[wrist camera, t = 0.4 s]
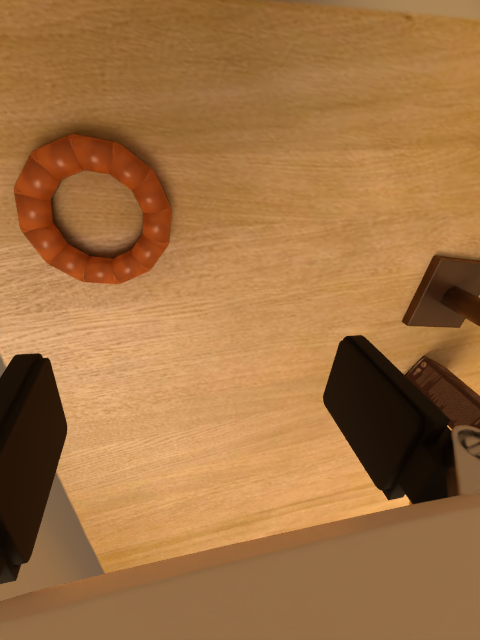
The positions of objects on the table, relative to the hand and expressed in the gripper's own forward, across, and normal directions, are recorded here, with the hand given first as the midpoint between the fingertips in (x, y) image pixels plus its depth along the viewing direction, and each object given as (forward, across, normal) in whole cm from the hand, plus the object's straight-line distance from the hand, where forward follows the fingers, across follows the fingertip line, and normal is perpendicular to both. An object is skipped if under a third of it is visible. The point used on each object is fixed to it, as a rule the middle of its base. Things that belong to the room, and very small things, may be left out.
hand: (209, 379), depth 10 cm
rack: (+18, -30, +6) cm, 35 cm away
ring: (+17, +6, -1) cm, 18 cm away
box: (+18, -33, +18) cm, 42 cm away
